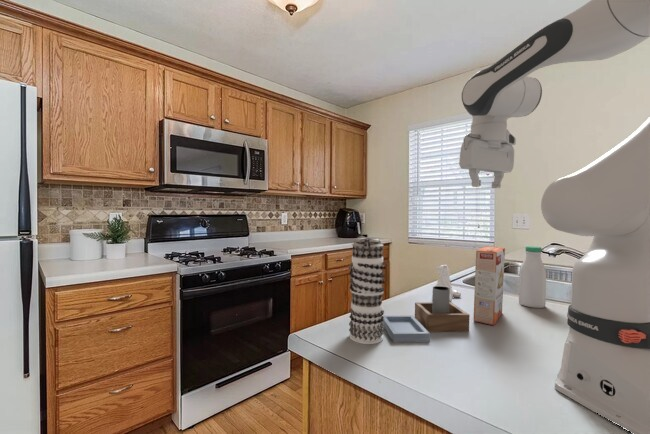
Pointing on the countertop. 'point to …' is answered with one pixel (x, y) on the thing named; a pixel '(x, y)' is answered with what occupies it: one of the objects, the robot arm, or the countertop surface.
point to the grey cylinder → (440, 300)
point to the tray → (405, 329)
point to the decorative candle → (367, 291)
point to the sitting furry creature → (446, 280)
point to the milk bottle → (532, 279)
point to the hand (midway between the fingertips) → (486, 187)
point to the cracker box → (489, 284)
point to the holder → (442, 318)
